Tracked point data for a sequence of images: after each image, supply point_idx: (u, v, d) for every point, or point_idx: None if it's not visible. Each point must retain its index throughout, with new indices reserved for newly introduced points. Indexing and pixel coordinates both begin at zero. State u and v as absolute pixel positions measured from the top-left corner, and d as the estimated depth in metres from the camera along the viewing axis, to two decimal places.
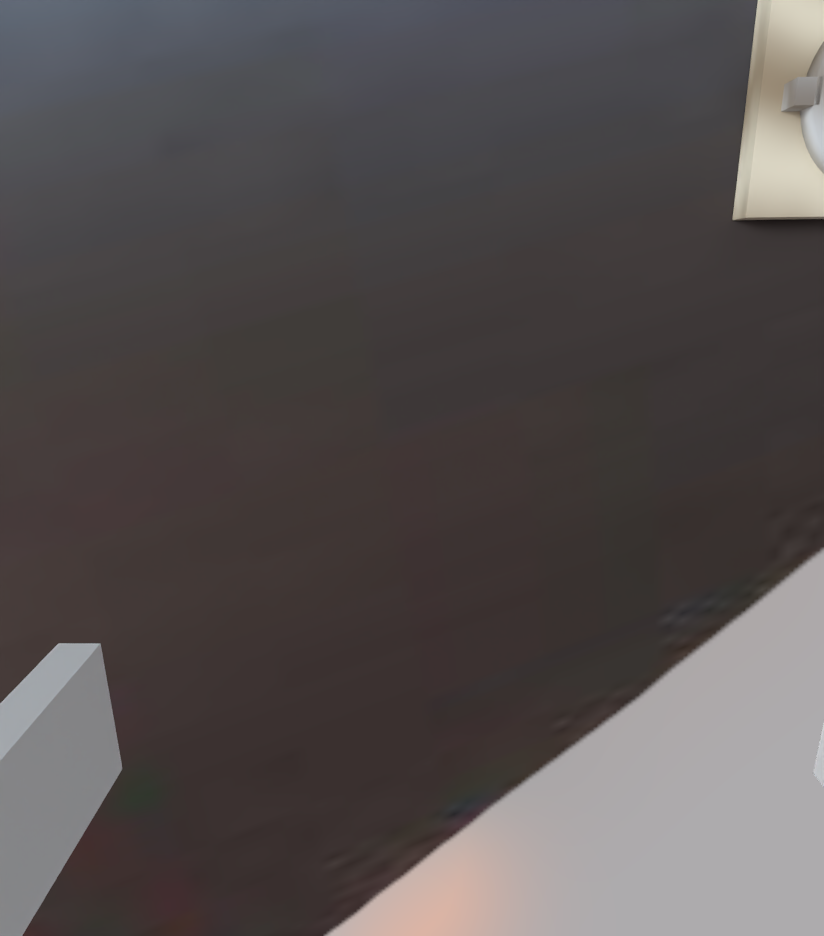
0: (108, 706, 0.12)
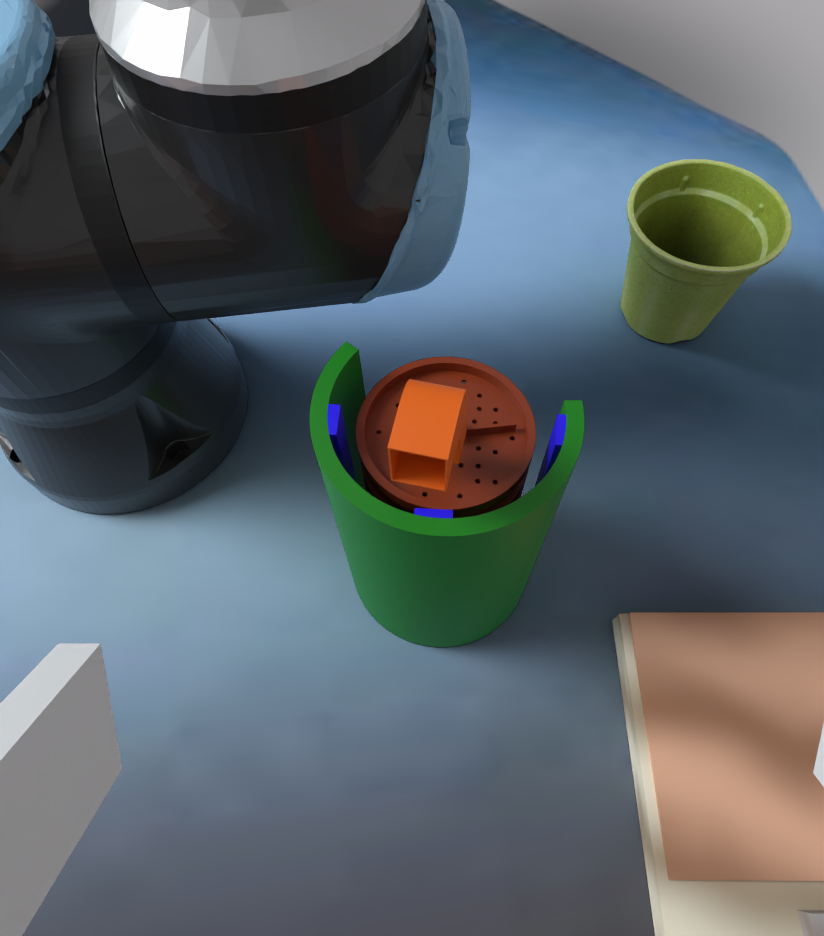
0: (108, 706, 0.12)
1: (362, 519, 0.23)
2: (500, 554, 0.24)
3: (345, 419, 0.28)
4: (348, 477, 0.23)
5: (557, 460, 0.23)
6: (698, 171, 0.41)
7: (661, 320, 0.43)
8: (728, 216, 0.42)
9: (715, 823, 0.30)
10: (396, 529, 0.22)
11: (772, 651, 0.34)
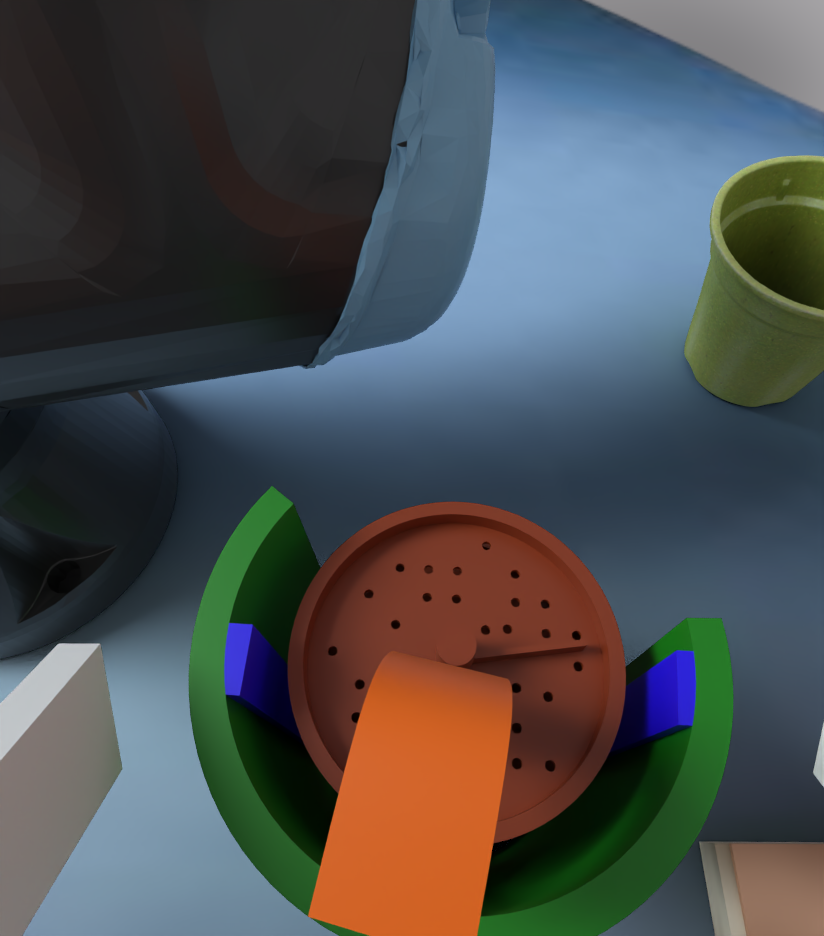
0: (109, 707, 0.12)
1: None
2: None
3: (278, 606, 0.16)
4: (257, 803, 0.11)
5: (686, 764, 0.11)
6: (804, 173, 0.29)
7: (748, 378, 0.31)
8: None
9: None
10: None
11: None
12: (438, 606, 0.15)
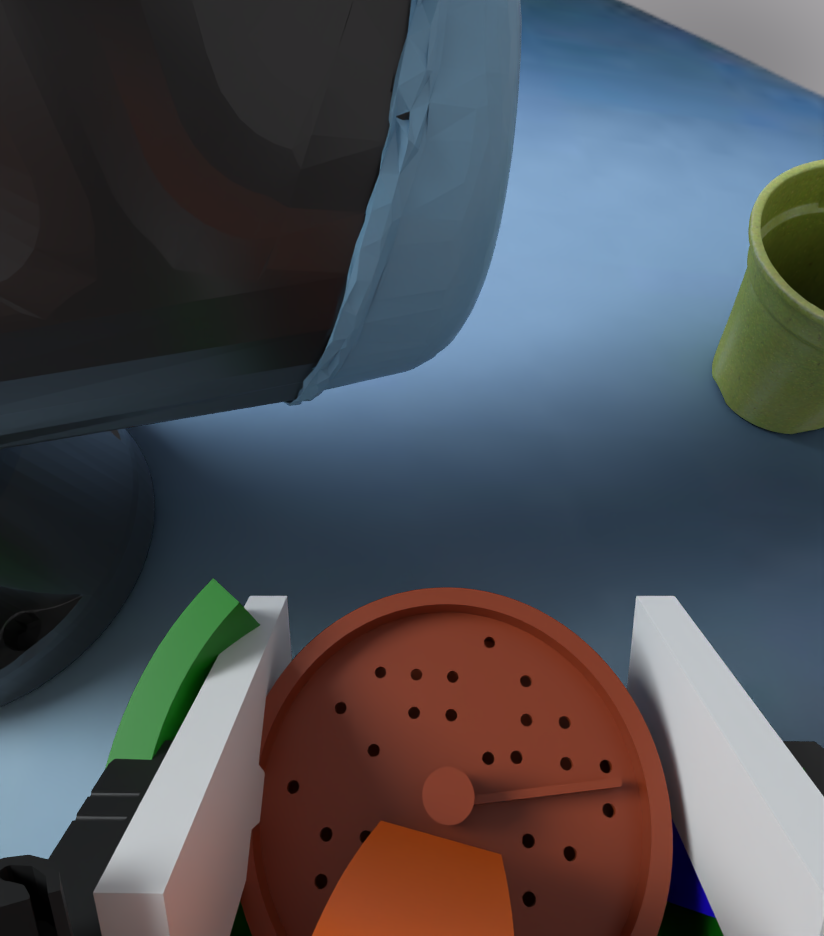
0: (289, 653, 0.14)
1: None
2: None
3: None
4: None
5: None
6: None
7: (787, 404, 0.28)
8: None
9: None
10: None
11: None
12: (428, 723, 0.12)
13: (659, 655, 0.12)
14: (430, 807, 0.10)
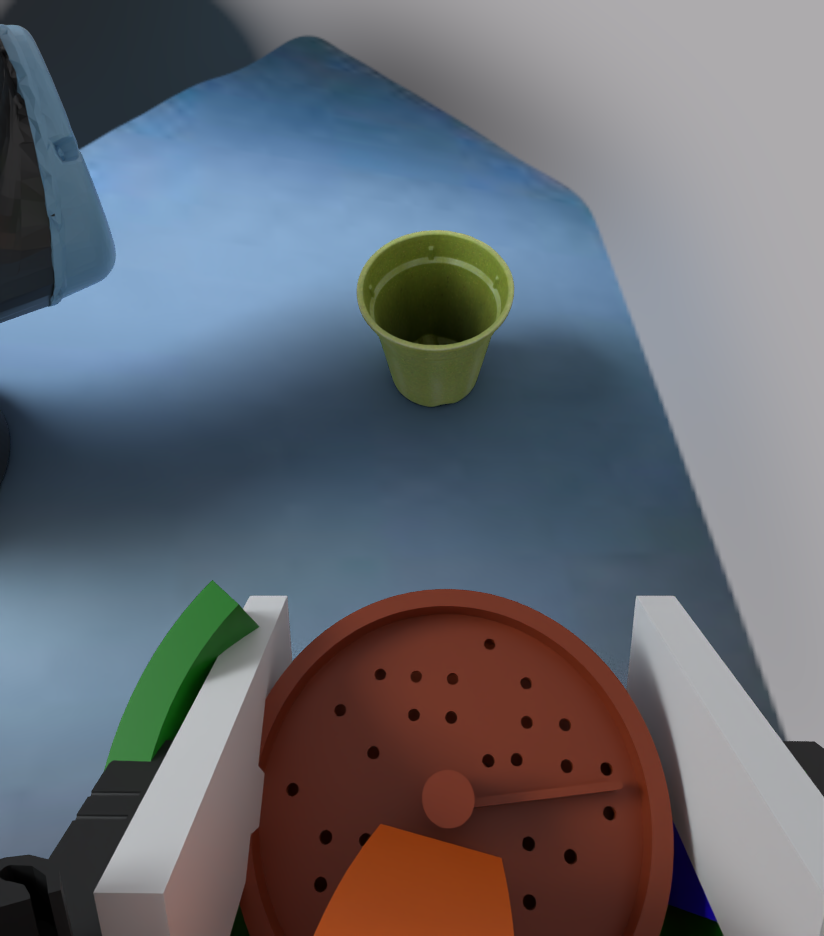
0: (289, 653, 0.14)
1: None
2: None
3: None
4: None
5: None
6: (441, 242, 0.42)
7: (413, 386, 0.43)
8: (476, 285, 0.42)
9: None
10: None
11: None
12: (428, 725, 0.12)
13: (659, 655, 0.12)
14: (430, 810, 0.10)
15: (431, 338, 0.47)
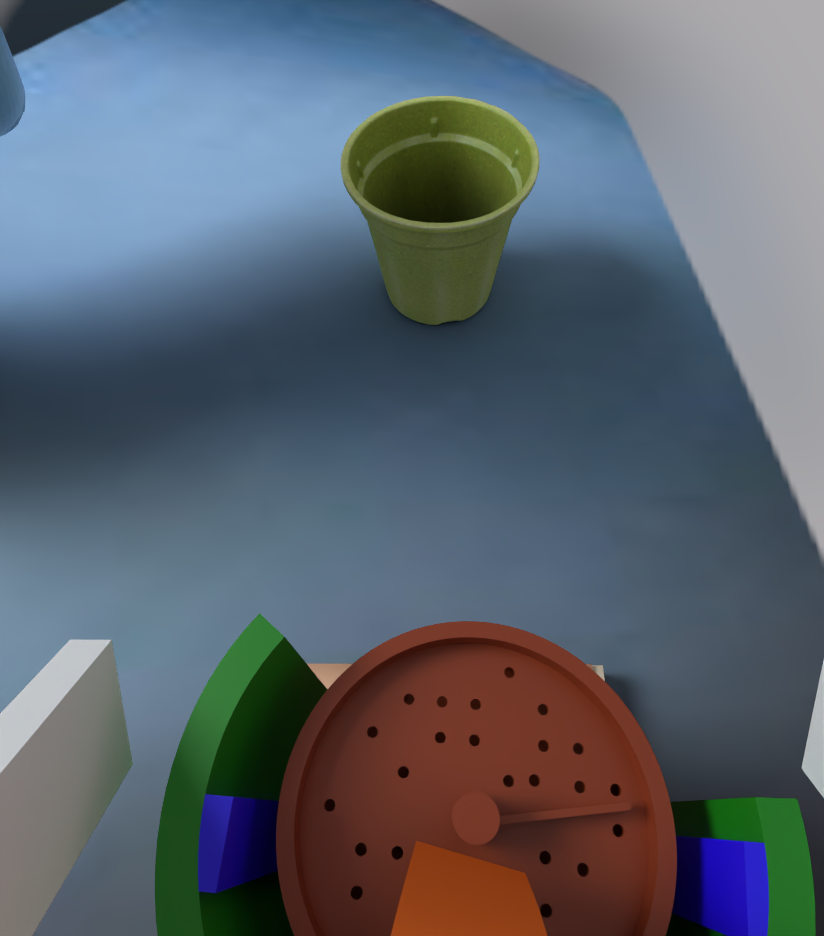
0: (119, 702, 0.12)
1: None
2: None
3: (269, 733, 0.14)
4: None
5: None
6: (447, 112, 0.34)
7: (412, 295, 0.35)
8: (490, 168, 0.34)
9: None
10: None
11: None
12: (453, 747, 0.13)
13: None
14: (460, 828, 0.11)
15: None
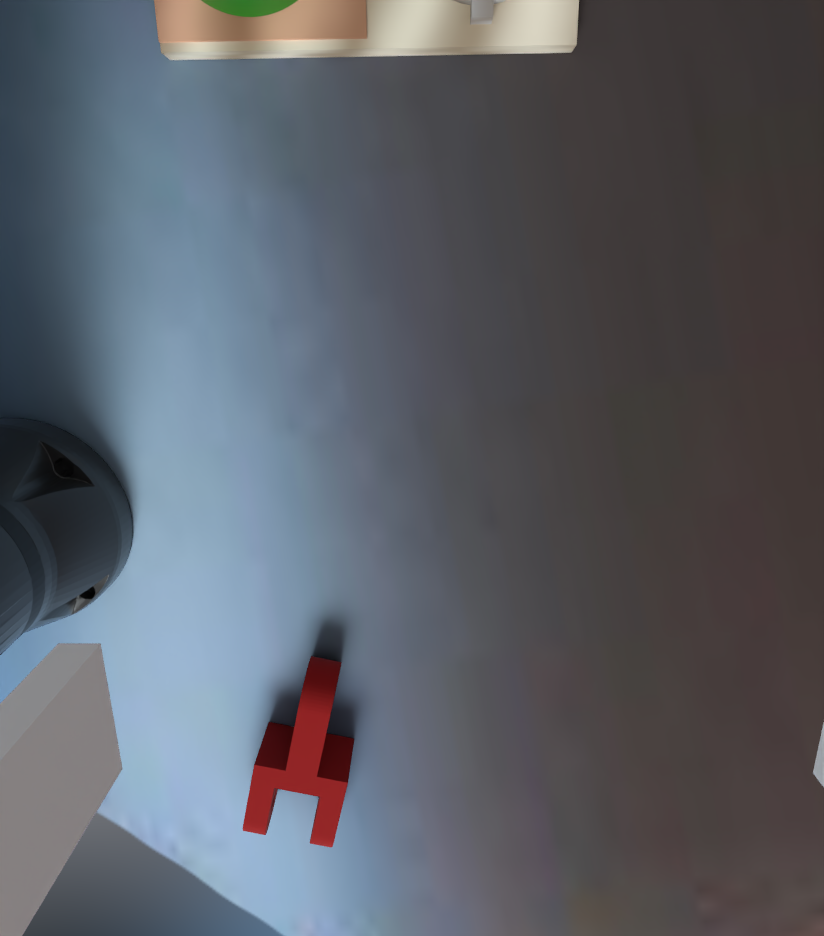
0: (108, 706, 0.12)
1: None
2: None
3: None
4: None
5: None
6: None
7: None
8: None
9: None
10: None
11: None
12: None
13: None
14: None
15: None
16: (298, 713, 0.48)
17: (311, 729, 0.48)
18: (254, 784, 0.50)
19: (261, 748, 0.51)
